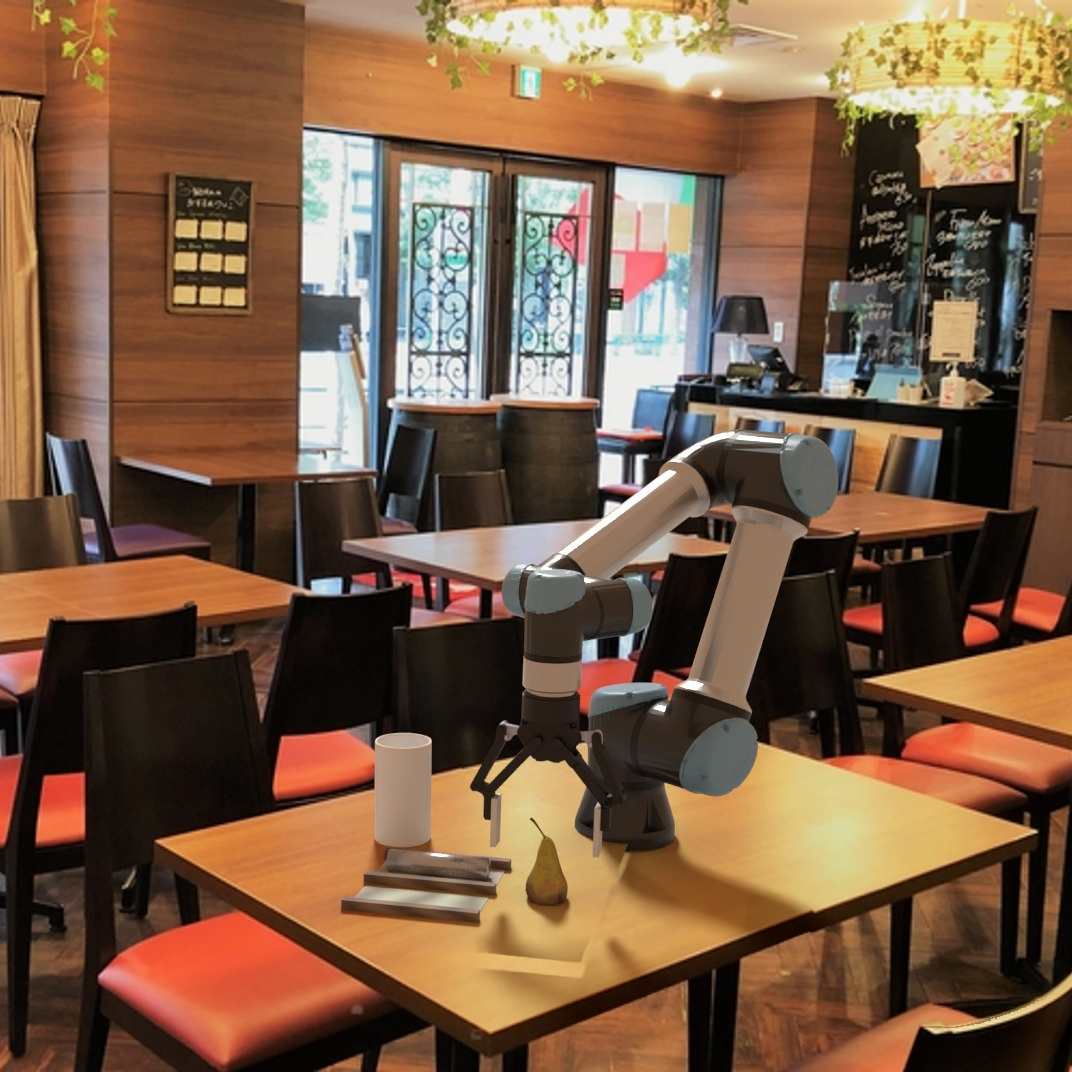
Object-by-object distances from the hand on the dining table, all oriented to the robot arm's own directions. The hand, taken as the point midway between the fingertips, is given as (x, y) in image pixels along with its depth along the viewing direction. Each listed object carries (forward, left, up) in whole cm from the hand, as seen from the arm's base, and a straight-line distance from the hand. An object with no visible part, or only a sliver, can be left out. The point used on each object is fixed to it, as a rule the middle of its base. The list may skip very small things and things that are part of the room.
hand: (545, 849), depth 196 cm
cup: (+25, -18, -9) cm, 32 cm away
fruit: (0, 0, -9) cm, 9 cm away
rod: (+16, -5, -7) cm, 18 cm away
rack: (+16, 0, -8) cm, 18 cm away
